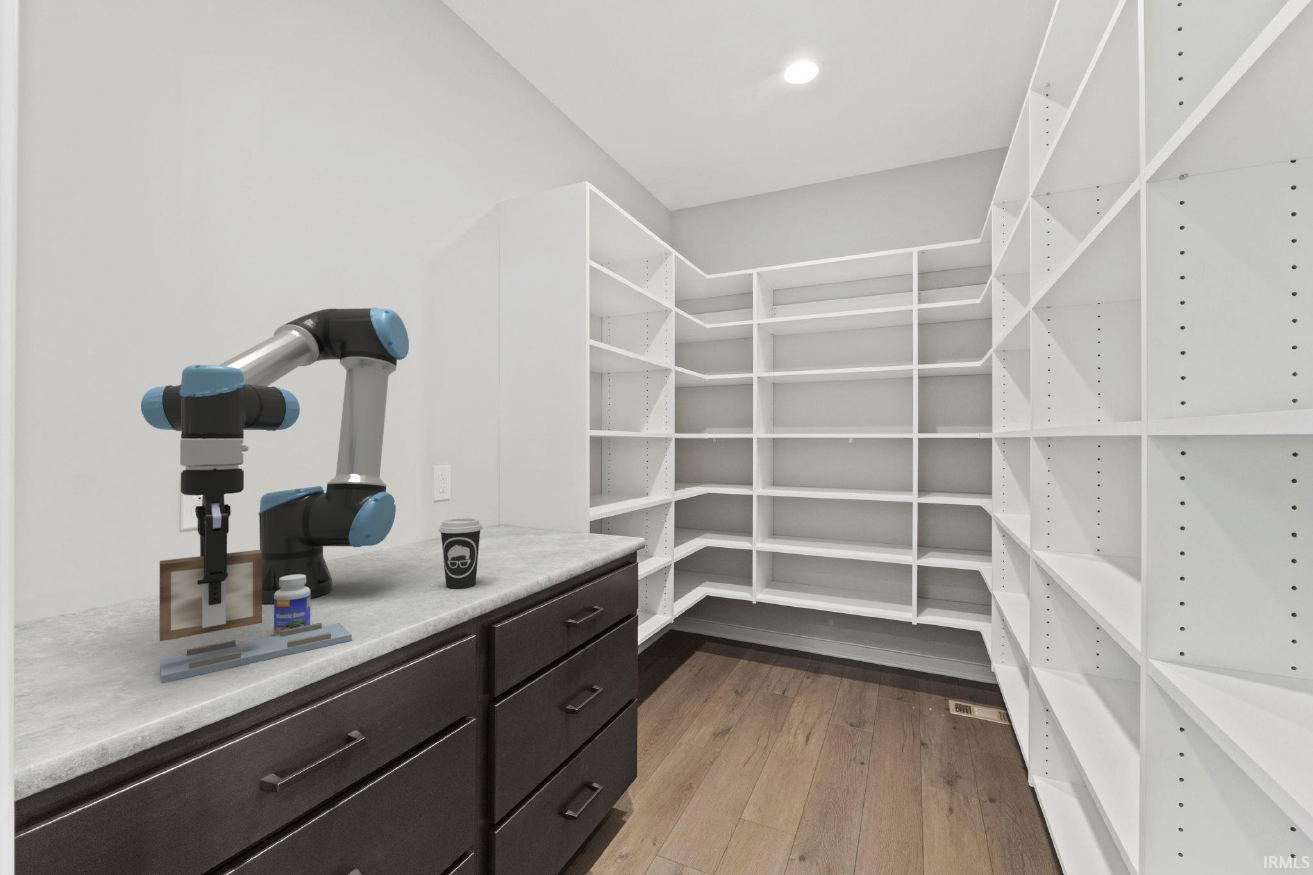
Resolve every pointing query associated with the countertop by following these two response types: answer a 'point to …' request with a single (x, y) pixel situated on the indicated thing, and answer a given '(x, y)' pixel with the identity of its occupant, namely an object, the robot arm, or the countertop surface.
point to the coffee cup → (460, 551)
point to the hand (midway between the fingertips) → (212, 621)
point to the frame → (185, 595)
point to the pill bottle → (291, 603)
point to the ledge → (251, 650)
